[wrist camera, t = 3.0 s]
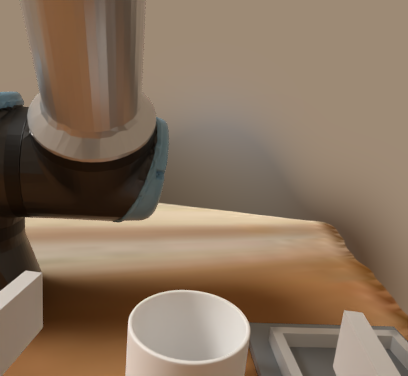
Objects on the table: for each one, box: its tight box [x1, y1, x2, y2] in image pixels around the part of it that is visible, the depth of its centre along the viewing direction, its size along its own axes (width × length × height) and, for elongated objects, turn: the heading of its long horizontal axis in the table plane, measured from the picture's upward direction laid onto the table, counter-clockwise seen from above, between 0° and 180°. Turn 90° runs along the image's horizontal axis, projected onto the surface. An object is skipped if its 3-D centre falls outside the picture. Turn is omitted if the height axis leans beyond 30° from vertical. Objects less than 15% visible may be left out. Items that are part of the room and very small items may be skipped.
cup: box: [125, 290, 250, 376], centre depth 28 cm, size 8×12×10 cm
